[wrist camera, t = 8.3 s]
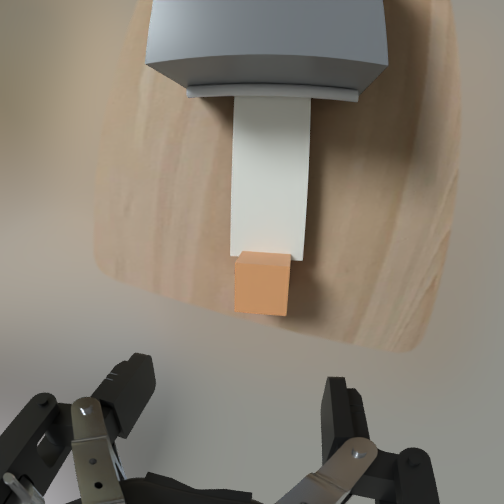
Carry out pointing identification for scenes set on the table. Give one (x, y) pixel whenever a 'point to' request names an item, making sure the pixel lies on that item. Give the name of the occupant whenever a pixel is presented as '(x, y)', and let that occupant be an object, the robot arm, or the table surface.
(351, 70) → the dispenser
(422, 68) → the table surface
